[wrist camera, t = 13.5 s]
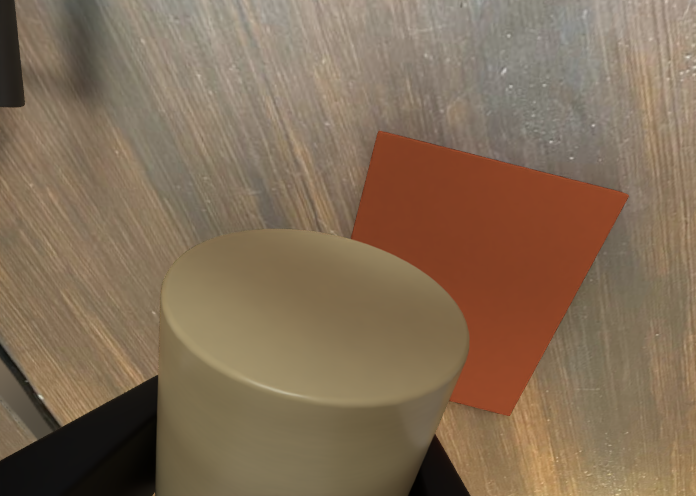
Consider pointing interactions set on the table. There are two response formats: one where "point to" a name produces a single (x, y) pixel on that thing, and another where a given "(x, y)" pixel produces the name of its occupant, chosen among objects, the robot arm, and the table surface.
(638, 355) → the table surface
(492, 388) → the mat
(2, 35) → the drawer
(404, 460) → the roller
